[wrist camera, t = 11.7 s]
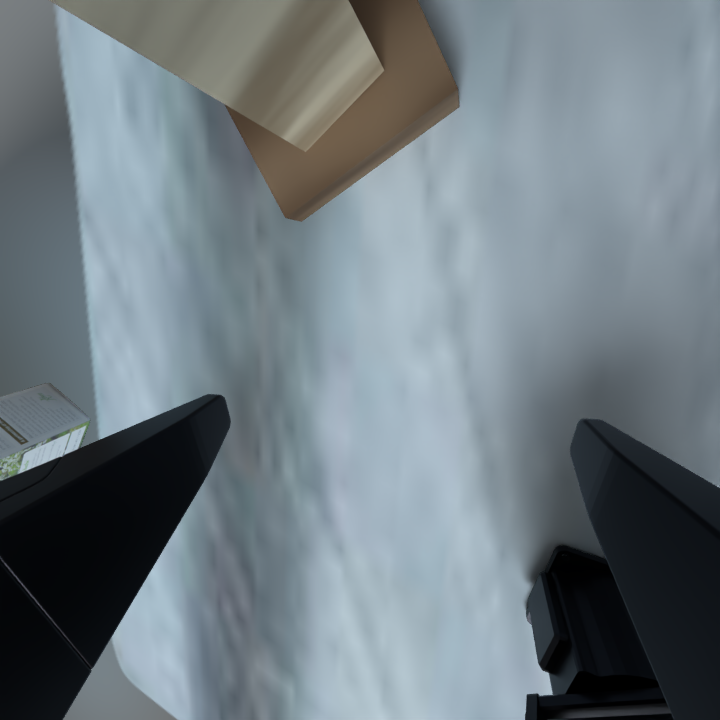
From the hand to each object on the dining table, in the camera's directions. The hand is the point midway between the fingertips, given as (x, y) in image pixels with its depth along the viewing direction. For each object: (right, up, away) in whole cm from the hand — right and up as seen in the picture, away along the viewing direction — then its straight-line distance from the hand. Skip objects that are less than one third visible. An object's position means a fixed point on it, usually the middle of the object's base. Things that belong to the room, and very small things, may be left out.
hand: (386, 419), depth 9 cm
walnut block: (-2, +16, +10) cm, 19 cm away
